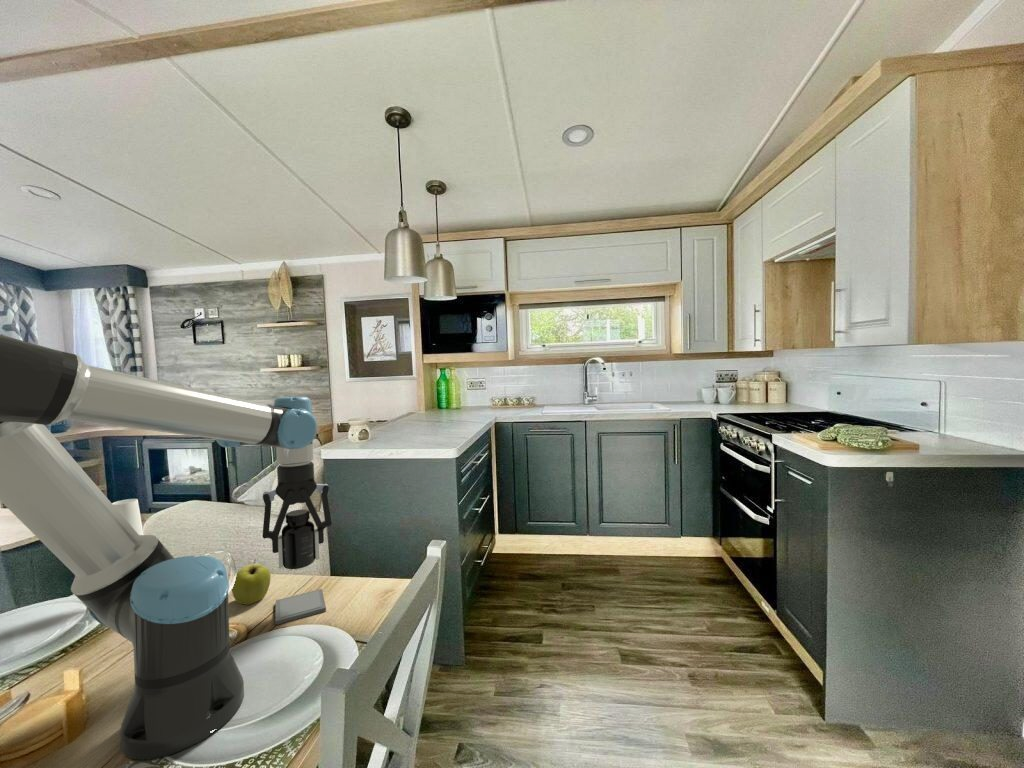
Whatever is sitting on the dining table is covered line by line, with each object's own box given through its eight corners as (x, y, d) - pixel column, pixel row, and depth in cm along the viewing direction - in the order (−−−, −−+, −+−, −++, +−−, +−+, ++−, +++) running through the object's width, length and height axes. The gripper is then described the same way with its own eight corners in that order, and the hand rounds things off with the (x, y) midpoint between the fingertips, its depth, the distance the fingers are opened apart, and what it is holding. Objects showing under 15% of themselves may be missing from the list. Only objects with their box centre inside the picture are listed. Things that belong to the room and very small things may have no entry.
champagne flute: (117, 594, 104) (113, 500, 104) (150, 588, 107) (147, 496, 107) (104, 607, 98) (100, 507, 98) (140, 600, 101) (136, 503, 101)
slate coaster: (326, 610, 94) (325, 607, 94) (275, 624, 89) (275, 620, 89) (321, 591, 102) (321, 588, 102) (275, 603, 97) (275, 599, 97)
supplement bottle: (275, 568, 93) (273, 516, 93) (299, 555, 100) (297, 506, 100) (299, 571, 91) (297, 518, 91) (322, 558, 98) (320, 508, 98)
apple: (233, 591, 102) (245, 551, 102) (268, 596, 104) (280, 557, 104) (219, 608, 94) (233, 565, 95) (257, 613, 96) (270, 570, 97)
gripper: (339, 455, 103) (342, 546, 104) (246, 465, 94) (250, 566, 94) (343, 460, 97) (346, 557, 97) (243, 471, 87) (248, 579, 87)
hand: (299, 561), depth 96 cm, fingers closed on supplement bottle, 7 cm apart
